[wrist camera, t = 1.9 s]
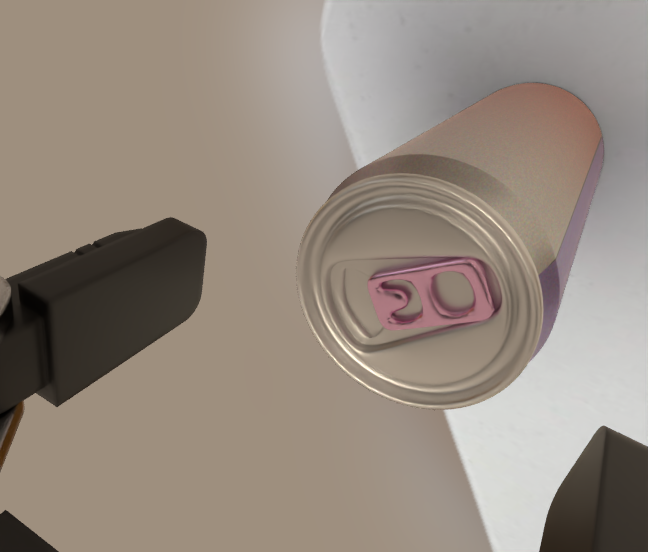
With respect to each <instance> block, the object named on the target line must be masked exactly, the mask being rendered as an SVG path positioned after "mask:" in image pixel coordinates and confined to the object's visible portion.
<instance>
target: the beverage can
mask: <svg viewBox="0 0 648 552" xmlns="http://www.w3.org/2000/svg"><path fill="white" fill-rule="evenodd" d="M603 158H604V145H603V138H602V134H601V130H600V128H599V125H598V123H597V121H596V119H595V117H594V115H593V114H592V113H591V111H590V110H589V109H588V107H587V106H586V105H585V104H584V103H583V102H582V101H581V100H579V99H578V98H577V97H575V96H574V95H573V94H571V93H569V92H567V91H565V90H563V89H561V88H558V87H556V86H552V85H548V84H542V83H522V84H516V85H512V86H509V87H506V88H503V89H500V90H498V91H496V92H494V93H493V94H491V95H489V96H487V97H486V98H484V99H482V100H480V101H479V102H477V103H475V104H473V105H472V106H470V107H468V108H466V109H465V110H463V111H461V112H459V113H458V114H456V115H454V116H452V117H451V118H449V119H447V120H445V121H443V122H442V123H440V124H438V125H436V126H435V127H433V128H431V129H429V130H428V131H426V132H424V133H422V134H421V135H419V136H417V137H415V138H414V139H412V140H410V141H408V142H407V143H405V144H403V145H401V146H400V147H398V148H396V149H394V150H393V151H391V152H389V153H387V154H386V155H384V156H382V157H380V158H379V159H377V160H375V161H373V162H372V163H370V164H368V165H366V166H365V167H363V168H361V169H359V170H358V171H356V172H355V173H353V174H352V175H351V176H349V177H348V178H347V179H346V180H344V181H343V182H342V183H341V184H340V185H339V186H338V187H337V188H336V189H335V191H334V192H333V193H332V194H331V196H330V197H329V199H328V200H327V201H326V203H325V204H324V205H323V206H322V207H321V208H320V209H319V210H318V211H317V213H316V214H315V215H314V217H313V218H312V220H311V221H310V223H309V225H308V226H307V228H306V230H305V233H304V235H303V237H302V240H301V243H300V248H299V251H298V257H297V266H296V280H297V289H298V295H299V299H300V303H301V307H302V310H303V313H304V316H305V318H306V321H307V323H308V325H309V327H310V329H311V331H312V333H313V335H314V336H315V338H316V340H317V341H318V343H319V344H320V346H321V347H322V348H323V350H324V351H325V352H326V354H327V355H328V356H329V357H330V358H331V360H332V361H333V362H334V363H335V364H336V365H337V366H338V367H339V368H340V369H342V370H343V371H344V372H345V373H346V374H347V375H348V376H350V377H351V378H352V379H353V380H355V381H356V382H357V383H359V384H360V385H362V386H363V387H365V388H367V389H368V390H370V391H372V392H373V393H375V394H377V395H380V396H382V397H384V398H386V399H389V400H391V401H394V402H397V403H400V404H404V405H407V406H411V407H416V408H423V409H433V410H436V409H437V410H444V409H455V408H462V407H466V406H470V405H474V404H477V403H480V402H482V401H485V400H487V399H489V398H491V397H493V396H495V395H496V394H498V393H500V392H501V391H502V390H504V389H505V388H506V387H508V386H509V385H510V384H511V383H512V382H513V381H514V380H515V379H516V378H517V377H518V376H519V375H520V374H521V373H522V371H523V370H524V369H525V367H526V366H527V364H528V363H529V362H530V361H531V360H532V359H533V358H534V357H535V356H536V354H537V353H538V352H539V351H540V349H541V348H542V347H543V345H544V344H545V342H546V340H547V339H548V337H549V335H550V332H551V330H552V328H553V325H554V322H555V320H556V316H557V313H558V310H559V307H560V303H561V300H562V297H563V293H564V290H565V287H566V284H567V280H568V277H569V274H570V271H571V267H572V264H573V261H574V258H575V254H576V251H577V248H578V244H579V241H580V238H581V235H582V231H583V228H584V225H585V222H586V218H587V215H588V212H589V208H590V205H591V202H592V199H593V195H594V192H595V189H596V186H597V182H598V179H599V176H600V172H601V169H602V165H603Z"/></svg>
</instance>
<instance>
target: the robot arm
mask: <svg viewBox="0 0 648 552" xmlns="http://www.w3.org/2000/svg"><path fill="white" fill-rule="evenodd" d="M206 246H207V240H206V236H205V234H204V233H203V232H202V231H200V230H198V229H196V228H194V227H192V226H190V225H188V224H185V223H183V222H181V221H179V220H177V219H175V218H166V219H164V220H161V221H159V222H157V223H154V224H152V225H150V226H147V227H145V228H143V229H136V230H129V231H123V232H117V233H114V234H111V235H109V236H107V237H104V238H102V239H99V240H97V241H95V242H94V243H93V245H91V244H88V245H85V246H83V247H80V248H78V249H76V251H75V252H74V253H73V252H72V251H71V252H69V253H66V254H64V255H62V256H59V257H57V258H54V259H52V260H50V261H47V262H45V263H43V264H40V265H38V266H35V267H33V268H31V269H28V270H26V271H24V272H21V273H19V274H17V275H14V276H12V277H9V278H7V279H4V278H3V277H0V471H1V469H2V466H3V464H4V461H5V459H6V456H7V454H8V451H9V448H10V446H11V444H12V441H13V439H14V436H15V434H16V431H17V429H18V426H19V423H20V421H21V418H22V416H23V413H24V400H25V399H26V398H28V397H29V396H31V395H33V394H34V393H37V394H38V395H40V396H41V397H43V398H44V399H46V400H47V401H49V402H50V403H52V404H53V405H55V406H56V407H58V406H59V405H61V404H62V403H64V402H65V401H67V400H68V399H70V398H71V397H73V396H74V395H76V394H77V393H79V392H80V391H82V390H83V389H85V388H86V387H88V386H89V385H90V384H92V383H94V382H95V381H97V380H98V379H99V378H101V377H103V376H104V375H106V374H107V373H109V372H110V371H111V370H113V369H114V368H116V367H117V366H119V365H120V364H122V363H123V362H125V361H126V360H128V359H129V358H131V357H132V356H134V355H135V354H137V353H138V352H140V351H141V350H143V349H144V348H146V347H147V346H148V345H150V344H152V343H153V342H154V341H156V340H157V339H159V338H160V337H162V336H163V335H165V334H167V333H168V332H170V331H171V330H172V329H174V328H175V327H177V326H178V325H180V324H181V323H183V322H184V321H186V320H187V319H188V318H189V317H190V316H191V315H192V314H193V312H194V311H195V309H196V308H197V306H198V304H199V301H200V298H201V294H202V285H203V275H204V274H203V273H204V265H205V256H206ZM0 552H58V551H57V550H56V549H55V548H53V547H52V546H51V545H50V544H48V543H47V542H45V541H44V540H43V539H42V538H41V537H39V536H38V535H37V534H35V533H34V532H33V531H32V530H30V529H29V528H28V527H27V526H25V525H24V524H23V523H21V522H20V521H19V520H18V519H17V518H15V517H14V516H13V515H12V514H10V513H9V512H8V511H6V510H5V511H4V512H3V513H1V514H0ZM539 552H648V447H647V446H645V445H643V444H641V443H639V442H637V441H635V440H633V439H631V438H629V437H627V436H625V435H622V434H620V433H618V432H616V431H614V430H612V429H610V428H608V427H606V426H602V427H600V428H599V429H598V430H597V431H596V433H595V434H594V436H593V437H592V439H591V440H590V442H589V443H588V445H587V446H586V448H585V449H584V451H583V452H582V454H581V455H580V457H579V458H578V460H577V461H576V463H575V464H574V466H573V467H572V469H571V470H570V472H569V473H568V475H567V476H566V478H565V479H564V481H563V482H562V484H561V485H560V487H559V489H558V491H557V492H556V494H555V497H554V499H553V501H552V503H551V506H550V509H549V511H548V515H547V518H546V522H545V527H544V532H543V536H542V541H541V546H540V551H539Z"/></svg>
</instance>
